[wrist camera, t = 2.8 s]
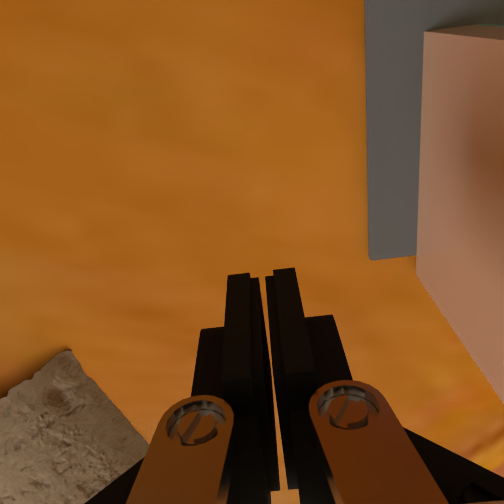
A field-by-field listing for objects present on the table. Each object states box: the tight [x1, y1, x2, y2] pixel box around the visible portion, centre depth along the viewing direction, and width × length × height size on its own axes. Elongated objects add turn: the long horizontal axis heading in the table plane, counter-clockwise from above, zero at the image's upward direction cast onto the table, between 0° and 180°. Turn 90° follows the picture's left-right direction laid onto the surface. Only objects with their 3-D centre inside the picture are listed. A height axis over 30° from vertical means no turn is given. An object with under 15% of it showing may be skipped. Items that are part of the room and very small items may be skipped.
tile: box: [416, 24, 504, 404], centre depth 16 cm, size 10×2×8 cm, turn 7°
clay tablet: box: [0, 351, 149, 504], centre depth 26 cm, size 14×10×3 cm
